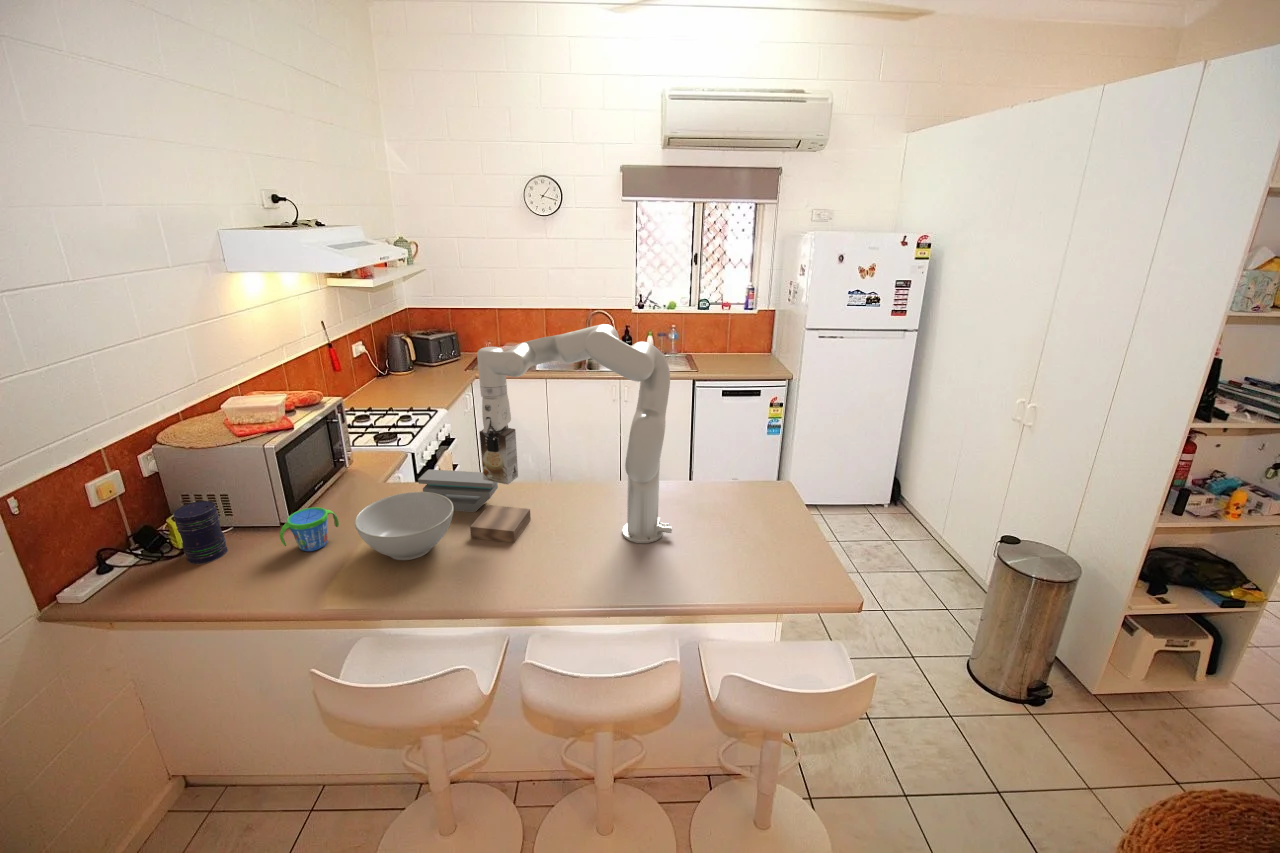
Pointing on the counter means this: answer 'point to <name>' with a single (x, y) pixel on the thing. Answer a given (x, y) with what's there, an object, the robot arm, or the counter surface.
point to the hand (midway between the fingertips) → (498, 446)
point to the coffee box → (500, 457)
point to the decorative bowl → (405, 523)
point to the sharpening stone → (459, 487)
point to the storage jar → (200, 532)
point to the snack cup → (309, 528)
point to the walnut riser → (500, 523)
